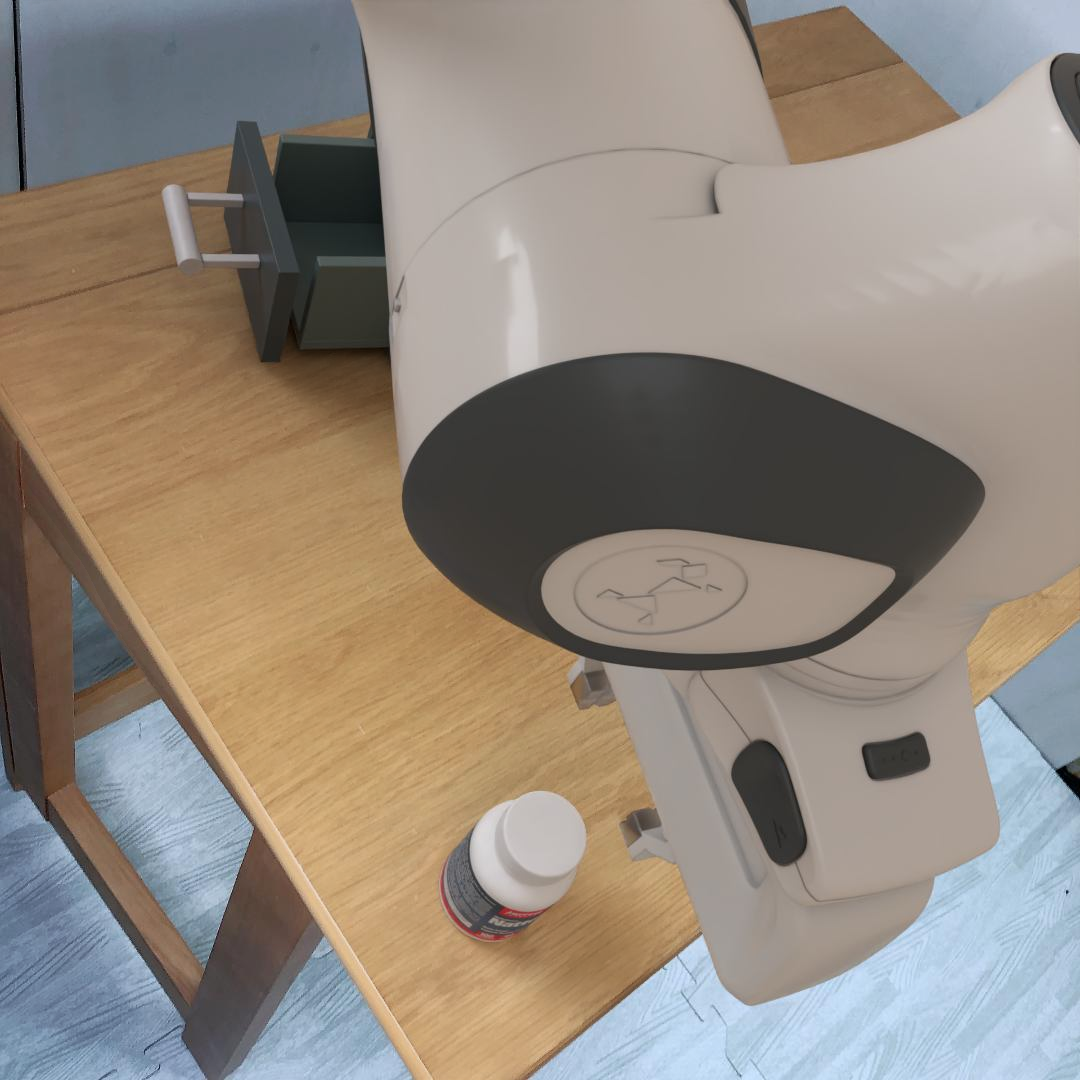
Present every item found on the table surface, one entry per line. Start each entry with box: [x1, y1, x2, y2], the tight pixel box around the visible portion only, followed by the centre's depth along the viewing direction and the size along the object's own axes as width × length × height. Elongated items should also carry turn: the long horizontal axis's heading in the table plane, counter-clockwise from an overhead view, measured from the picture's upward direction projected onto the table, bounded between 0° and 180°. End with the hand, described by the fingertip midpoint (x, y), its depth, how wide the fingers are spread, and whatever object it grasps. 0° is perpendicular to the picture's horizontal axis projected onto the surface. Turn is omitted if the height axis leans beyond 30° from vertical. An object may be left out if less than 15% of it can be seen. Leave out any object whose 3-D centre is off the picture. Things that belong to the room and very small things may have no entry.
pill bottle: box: [438, 790, 588, 943], centre depth 55 cm, size 5×5×9 cm
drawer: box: [161, 120, 390, 364], centre depth 72 cm, size 18×12×8 cm
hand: (614, 763), depth 45 cm, fingers open, 5 cm apart
